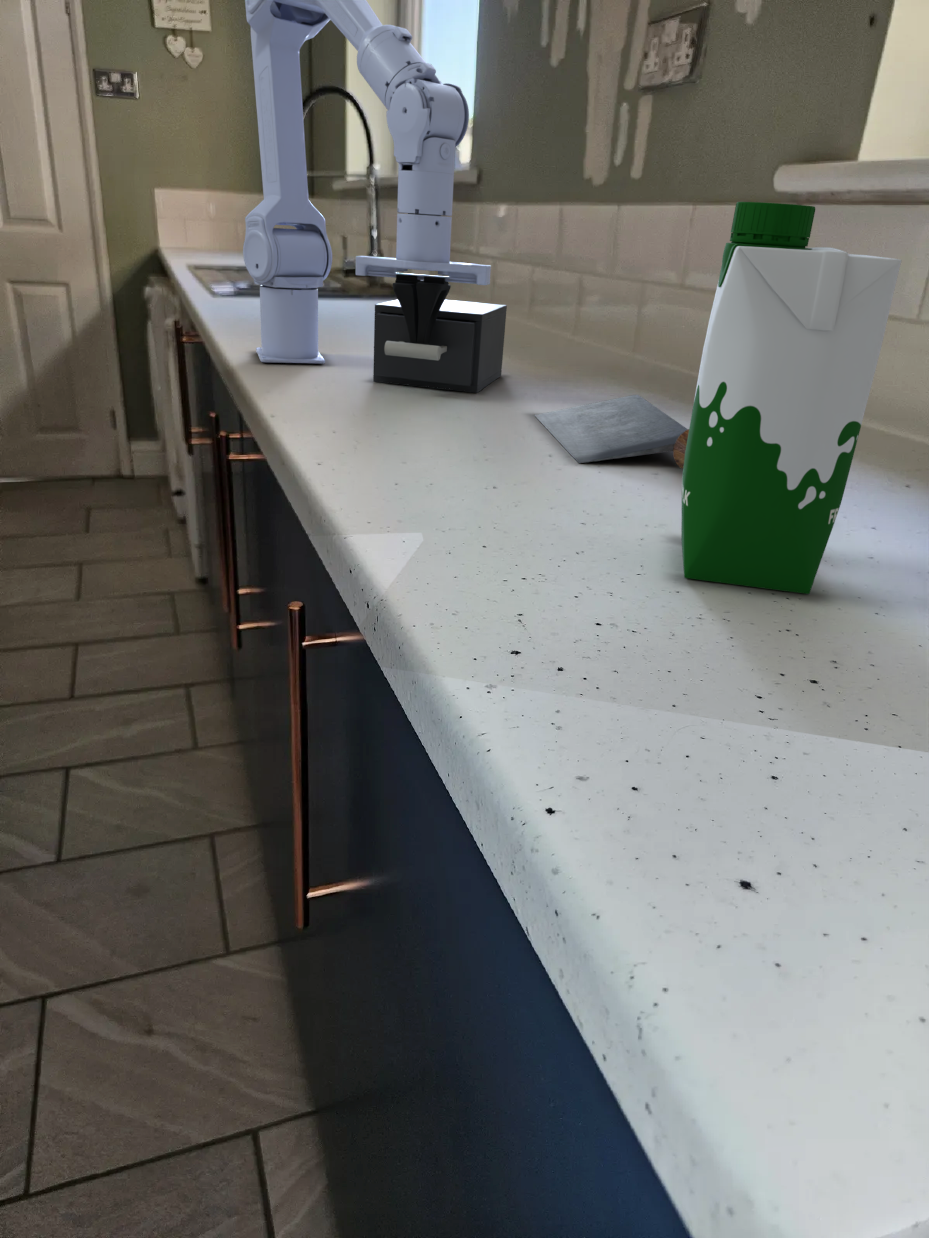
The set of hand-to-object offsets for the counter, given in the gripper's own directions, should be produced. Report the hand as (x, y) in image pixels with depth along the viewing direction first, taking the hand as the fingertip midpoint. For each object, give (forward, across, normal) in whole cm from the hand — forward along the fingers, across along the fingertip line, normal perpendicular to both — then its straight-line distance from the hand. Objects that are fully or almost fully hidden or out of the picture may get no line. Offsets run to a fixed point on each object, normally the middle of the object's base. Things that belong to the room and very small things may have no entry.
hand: (419, 350), depth 96 cm
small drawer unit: (+4, 0, +10) cm, 11 cm away
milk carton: (+5, +34, -43) cm, 55 cm away
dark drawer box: (+4, 0, +6) cm, 7 cm away
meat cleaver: (+5, +26, -19) cm, 32 cm away
